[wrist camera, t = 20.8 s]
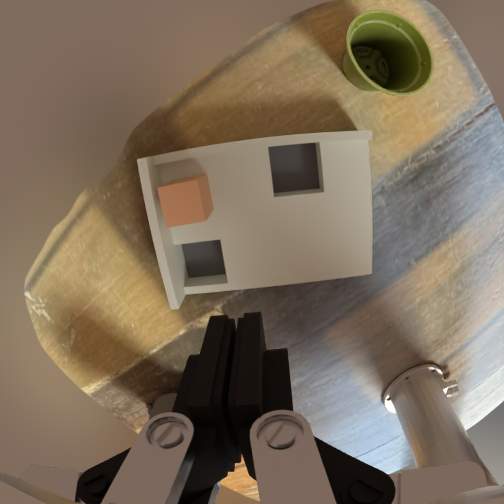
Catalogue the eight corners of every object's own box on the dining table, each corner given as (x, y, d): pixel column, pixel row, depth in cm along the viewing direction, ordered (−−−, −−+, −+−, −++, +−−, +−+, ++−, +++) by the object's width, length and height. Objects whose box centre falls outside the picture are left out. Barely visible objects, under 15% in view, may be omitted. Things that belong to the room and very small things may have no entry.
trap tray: (358, 131, 32) (378, 130, 26) (364, 264, 38) (381, 287, 32) (157, 155, 34) (136, 159, 28) (183, 284, 40) (170, 309, 34)
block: (207, 173, 32) (197, 179, 27) (213, 209, 33) (205, 221, 28) (172, 180, 32) (157, 187, 27) (179, 215, 33) (166, 227, 29)
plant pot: (339, 109, 31) (363, 100, 23) (318, 37, 28) (334, 10, 20) (407, 101, 30) (444, 94, 22) (387, 33, 27) (417, 11, 19)
